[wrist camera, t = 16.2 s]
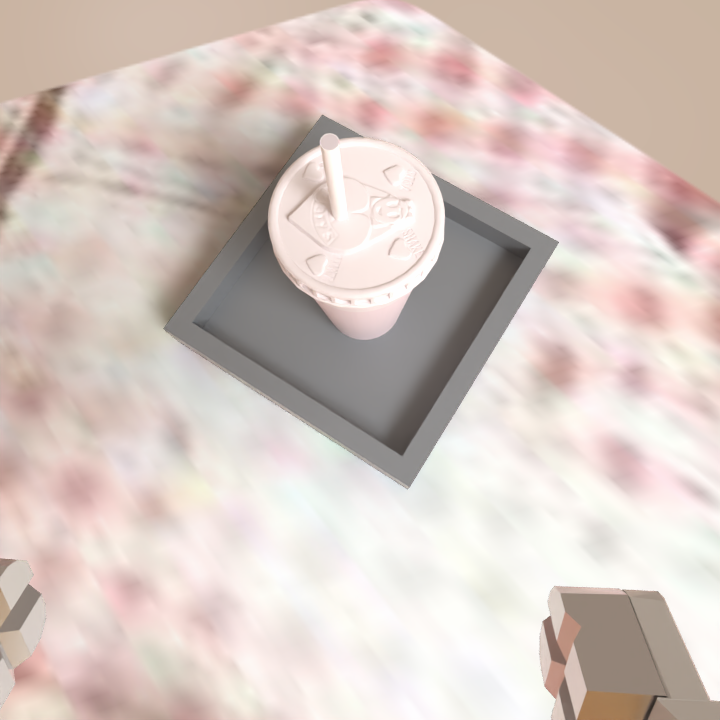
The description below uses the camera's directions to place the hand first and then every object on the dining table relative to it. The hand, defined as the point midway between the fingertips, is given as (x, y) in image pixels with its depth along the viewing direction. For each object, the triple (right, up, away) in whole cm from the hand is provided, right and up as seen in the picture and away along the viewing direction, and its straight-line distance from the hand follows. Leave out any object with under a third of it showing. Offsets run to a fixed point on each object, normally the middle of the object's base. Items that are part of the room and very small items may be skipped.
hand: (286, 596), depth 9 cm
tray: (+1, +7, +22) cm, 23 cm away
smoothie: (+1, +6, +21) cm, 22 cm away
